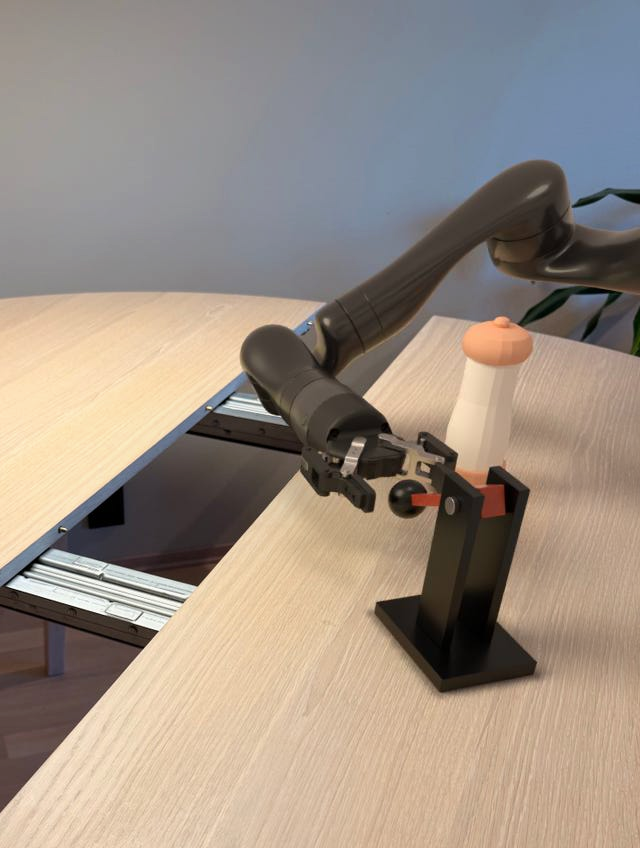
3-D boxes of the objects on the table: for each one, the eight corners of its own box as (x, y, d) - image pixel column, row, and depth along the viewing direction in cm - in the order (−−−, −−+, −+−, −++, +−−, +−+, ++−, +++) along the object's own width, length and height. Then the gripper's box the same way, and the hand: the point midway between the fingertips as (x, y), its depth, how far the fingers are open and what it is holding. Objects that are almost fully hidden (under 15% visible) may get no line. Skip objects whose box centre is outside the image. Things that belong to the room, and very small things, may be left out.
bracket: (373, 613, 90) (400, 455, 81) (460, 598, 92) (496, 443, 83) (439, 692, 81) (477, 524, 72) (534, 674, 83) (583, 508, 74)
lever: (382, 520, 91) (379, 481, 91) (417, 515, 92) (414, 477, 92) (474, 527, 77) (471, 481, 76) (514, 521, 78) (511, 475, 77)
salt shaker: (512, 489, 110) (554, 318, 99) (476, 509, 106) (516, 334, 95) (457, 467, 115) (490, 301, 103) (420, 486, 111) (451, 316, 99)
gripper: (395, 452, 105) (475, 523, 93) (271, 468, 102) (337, 544, 89) (405, 384, 101) (492, 450, 88) (276, 399, 97) (347, 469, 85)
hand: (414, 497), depth 89 cm, fingers open, 8 cm apart
